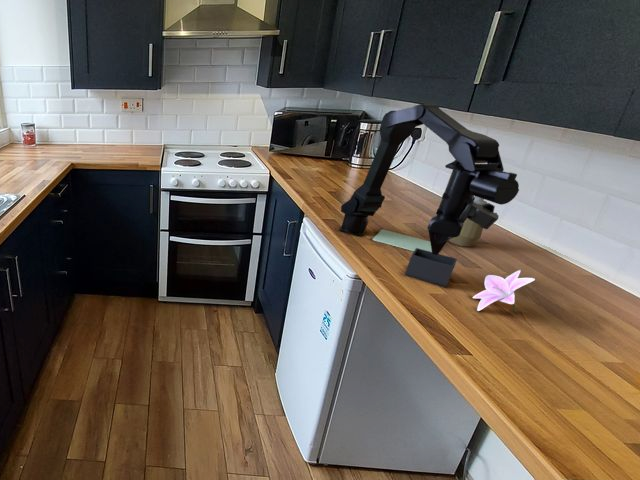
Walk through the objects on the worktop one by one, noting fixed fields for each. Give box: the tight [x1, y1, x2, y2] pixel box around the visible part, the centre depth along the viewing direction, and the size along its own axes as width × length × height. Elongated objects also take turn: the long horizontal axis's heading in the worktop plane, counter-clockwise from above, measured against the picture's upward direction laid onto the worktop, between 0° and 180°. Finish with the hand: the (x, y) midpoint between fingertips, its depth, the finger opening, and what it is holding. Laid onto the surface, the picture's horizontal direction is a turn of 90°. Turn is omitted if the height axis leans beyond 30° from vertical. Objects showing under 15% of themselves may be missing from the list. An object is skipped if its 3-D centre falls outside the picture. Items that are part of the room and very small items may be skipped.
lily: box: [472, 269, 536, 313], centre depth 92 cm, size 12×12×10 cm
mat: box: [372, 228, 432, 252], centre depth 127 cm, size 16×12×1 cm
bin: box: [404, 248, 458, 288], centre depth 105 cm, size 9×6×6 cm
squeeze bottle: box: [448, 196, 488, 248], centre depth 124 cm, size 8×8×18 cm
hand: (437, 249), depth 103 cm, fingers open, 9 cm apart
